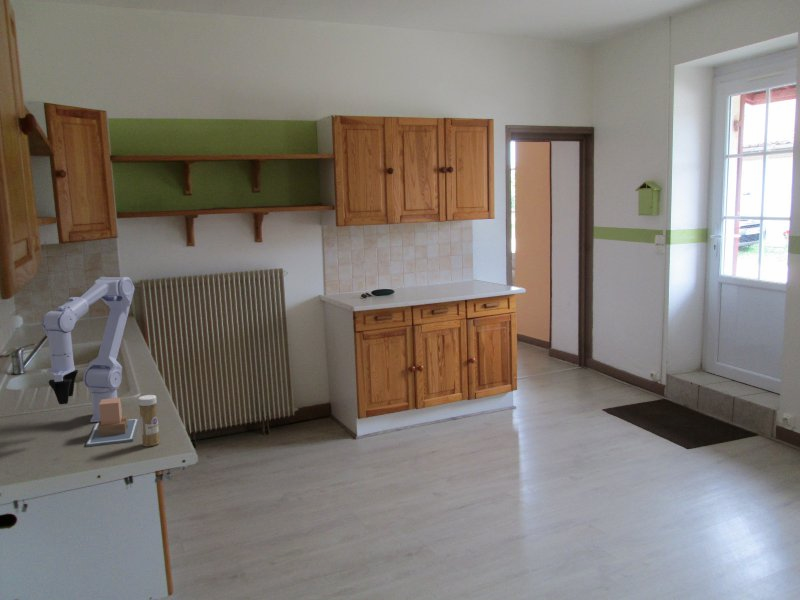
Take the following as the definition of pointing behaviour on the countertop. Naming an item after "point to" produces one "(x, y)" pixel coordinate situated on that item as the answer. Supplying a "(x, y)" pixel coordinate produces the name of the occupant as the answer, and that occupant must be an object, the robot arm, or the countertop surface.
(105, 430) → the walnut base block
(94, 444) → the board
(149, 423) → the sprinkles bottle
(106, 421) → the terracotta block
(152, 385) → the countertop surface
